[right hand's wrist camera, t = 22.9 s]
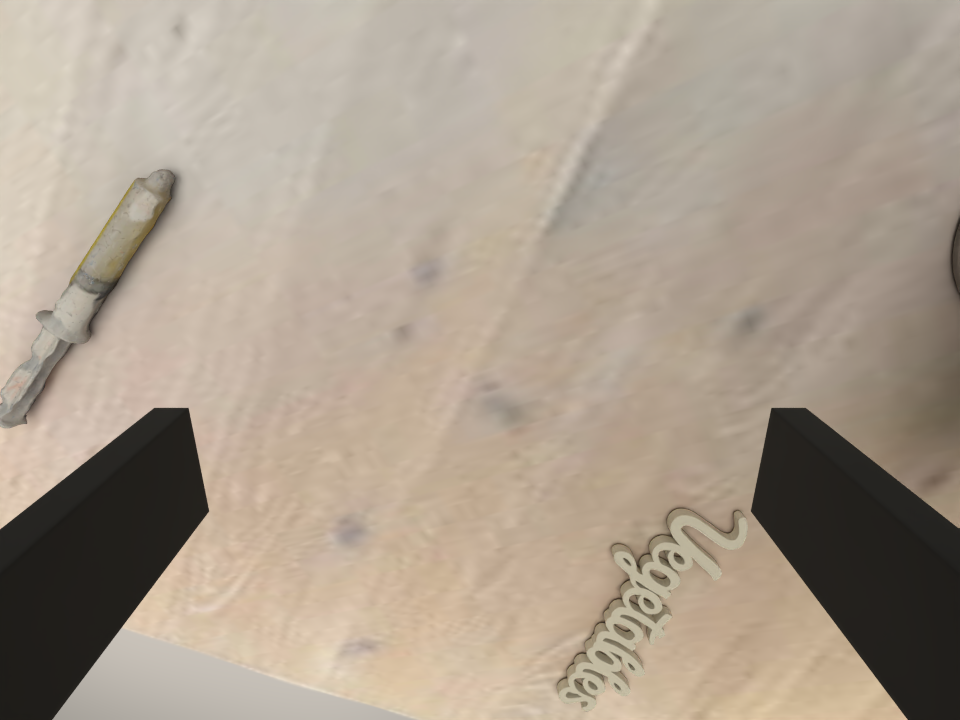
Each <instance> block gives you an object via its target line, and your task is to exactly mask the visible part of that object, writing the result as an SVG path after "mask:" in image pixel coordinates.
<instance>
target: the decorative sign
mask: <svg viewBox="0 0 960 720" xmlns="http://www.w3.org/2000/svg"><path fill="white" fill-rule="evenodd" d="M734 523H735V525H734V529H733V531H732V532H731V533H728V534H727V533H723V532H721V531H720V530H718V529H717V528H715V527H714V526H713V525H711V524H710V523H709V522H707V521H706V520H704V519H703V518H702V517H700V516H699V515H697V514H696V513H694V512H692V511H690V510H687V509H676V510H674V511H672V512H671V513H670V514H669V516H668V518H667V525H668V528H669V530H670V532H671V534H672V536H673V537H670V536H665V535H660V536H657V537H655V538H654V539H653V540H652V541H651V542H650V544H649V551H650V553H651V555H644V556H643V557H641V559H640V561H639V566H640V568H639V567H637V566H636V562H635V559H634V557H633V554H632V552H631V551H630V549H629V548H628V547H626V546H624V545H621V544H616V545H614V546H613V547H612V554H613V557H614V560H615V562H616V563H617V565H619V566H620V567H621V568H622V569H623V570H624V571H625V572H626V573H628V575H629V578H630V580H629V581H627V582H625V583H624V584H623V585H622V586H621V589H620V593H621V596H622V599H623V600H622V599H617V600H614V601H613V602H612V603H611V604H610V606H609V609H607V610H606V611H605V612H604V620H605V623H600V624H598V625H597V626H596V627H595V631H594V634H593V635H592V638H591V639H589V640H587V641H586V642H585V648H586V653H587V654H579V655H577V656H576V657H575V659H574V664H573V665H571V666H570V667H569V668H568V670H567V679H563V680H561V681H560V682H559V683H558V686H557V689H558V696H559V699H560V700H561V701H562V702H563V703H566V704H572V703H577V702H581V706H582V710H583V711H591V710H592V709H594V708H595V706H596V699H595V695H600V694H603V693H604V692H605V684H604V680H603V676H602V675H604V676H606V677H607V678H608V681H609V684H610V685H611V687H612V688H613V689H614V690H615V691H616V692H617V693H618V694H619V695H621V696H627V695H629V694H630V688H629V684H628V681H627V679H626V678H625V677H624V675H623V674H622V673H621V672H620V670H621V668H622V665H621V661H620V657H619V656H621V658H622V661H623V664H624V665H625V667H626V668H627V669H628V670H629V671H630V672H631V673H632V674H634V675H635V676H638V677H641V676H643V675H644V674H645V672H644V668H643V665H642V662H641V660H640V659H639V658H638V656H637V655H636V654H635V653H634V652H633V650H634V649H635V648H636V645H635V643H637V642H640V641H641V640H642V639H643V636H644V635H643V631H642V628H641V625H640V623H639V622H638V621H640V622H641V623H643V624H645V625H646V626H648V627H647V637H648V640H649V643H650V644H651V645H653V644H654V640H655V638H656V636H658V637H659V638H662V637H664V636H665V632H664V630H663V626H664V625H665V624H666V623H667V622H668V621H669V620H670V619H671V618H672V614H671V612H670V609H669V608H667V607H665V606H662V603H661V600H660V598H659V595H660V596H661V597H663V598H665V599H668V597H669V596H670V595H671V592H670V590H673V589H675V588H677V587H678V586H679V584H680V577H679V575H678V573H677V571H686V570H688V569H690V568H691V567H692V565H693V560H692V558H693V559H694V560H695V561H696V562H697V563H698V564H699V565H700V566H701V567H702V568H703V569H704V570H705V571H707V572H708V573H709V574H710V575H711V577H712V578H713V580H714V581H716V580H718V579H719V578H720V577H721V574H722V572H721V569H720V568H719V566H718V564H717V562H716V561H715V560H714V559H713V558H712V557H711V556H710V555H709V554H708V553H707V552H706V551H704V550H703V549H702V548H701V547H700V546H698V545H697V544H696V543H695V542H694V541H693V540H692V539H691V538H690V537H689V536H688V535H687V534H686V533H685V532H684V531H683V530H682V529H681V528H682V527H683V526H686V525H687V526H691V527H693V528H695V529H696V530H698V531H700V532H701V533H702V534H704V535H705V536H706V537H708V538H709V539H710V540H712V541H713V542H715V543H716V544H718V545H719V546H721V547H723V548H725V549H728V550H735V549H738V548H740V547H741V546H742V545H743V543H744V541H745V539H746V536H747V529H748V526H747V520H746V518H745V516H744V515H743V514H742V512H741V511H736V512H734ZM662 550H665V554H666V556H667V558H668V561H669V562H667V561H666V560H664V559H662V558H660V557H658V554H659V552H660V551H662ZM675 552H676V553H678V554H679V555H680V556H681V557H675V556H674V553H675ZM651 569H653V570H658V571H660V572H662V573H664V574H665V575H666V576H667V578H665V579H660V578H658V577H656V576H654V575H653V574H652V573H651V572H650V570H651ZM676 570H677V571H676ZM632 595H636V598H637V601H638V603H639V606H638V605H636V604H634V603H632V602H631V601H630V600H629V598H630V596H632ZM644 597H646V598H648V599H649V600H650V601H646V600H644ZM651 614H654V615H653V616H652V615H651ZM614 624H621V625H624V626H626V627H627V628H629V629H630V630H631V631H629V632H625V631H622V630H621V629H619V628H618V627H616V626H615V625H614ZM599 651H602V652H604V653H605V654H606V655H608V656H606V655H604V654H602V653H600V652H599ZM601 674H602V675H601ZM576 678H582V683H583V686H582V685H580V684H578V683H577V682H576V681H575V679H576Z"/></svg>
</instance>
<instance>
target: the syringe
mask: <svg viewBox="0 0 960 720" xmlns="http://www.w3.org/2000/svg"><path fill="white" fill-rule="evenodd" d="M174 181H175V176H174V174H173V173H172V172H171V171H169V170H163V169H161V170H158V171H155V172H153V173H152V174H151V175H150V176H149V178H137V179H136V180H134V182H133V183H132V185H131V186H130V188H129V189H128V191H127V192H126V194H125V195H124V197H123V199H122V200H121V201H120V203H119V205H118V206H117V208H116V209H115V211H114V212H113V214H112V216H111V217H110V219H109V220H108V222H107V224H106V225H105V226H104V228H103V230H102V231H101V233H100V234H99V236H98V238H97V239H96V241H95V242H94V244H93V245H92V247H91V248H90V250H89V251H88V253H87V254H86V256H85V257H84V259H83V261H82V262H81V264H80V265H79V267H78V268H77V270H76V271H75V273H74V274H73V276H72V277H71V280H70V283H69V286H68V287H67V289H66V290H65V291H64V292H63V294H62V296H61V298H60V299H59V300H58V301H57V302H56V304H55V309H54V311H47V310H43V311H40V312H38V313H37V314H36V318H37V320H38V321H39V322H40V323H41V324H42V325H43V328H42V330H41V333H40V334H39V336H38V337H37V338H36V340H35V341H34V342H33V345H32V347H31V351H32V358H31V359H30V360H29V361H27V362H25V363H23V364H22V365H20V366H19V367H18V368H17V369H16V370H15V371H14V373H13V374H12V375H11V377H10V378H9V380H8V381H7V383H6V385H5V386H4V388H3V389H2V390H1V392H0V396H1V397H2V400H3V403H1V404H0V427H2V428H11V427H14V426H17V425H20V424H27V420H26V416H27V415H25V414H26V413H27V412H28V411H29V409H30V407H31V406H32V404H33V403H34V402H35V398H36V396H37V395H38V394H40V393H41V392H42V391H43V389H44V387H45V381H46V379H47V377H48V376H49V374H50V372H51V370H52V369H53V367H54V366H55V365H56V363H57V362H58V361H59V360H60V359H61V358H62V357H63V356H64V355H65V353H66V352H67V350H68V349H69V347H70V346H71V344H72V343H75V344H82V343H86V342H87V341H88V340H89V339H90V337H91V332H90V330H89V324H90V322H91V320H92V319H93V317H94V316H95V315H96V314H97V312H98V310H99V308H100V307H101V305H102V304H103V302H104V301H105V299H106V297H107V295H108V294H109V293H110V292H111V291H112V290H113V288H114V287H115V286H116V284H117V282H118V280H119V278H120V276H121V274H122V272H123V271H124V269H125V267H126V265H127V264H128V262H129V260H130V259H131V258H132V256H133V255H134V253H135V252H136V250H137V249H138V247H139V245H140V244H141V242H142V241H143V240H144V238H145V237H146V235H147V234H148V233H149V232H150V231H151V230H152V228H153V227H154V225H155V223H156V221H157V219H158V217H159V215H160V214H161V212H162V211H163V209H164V207H165V205H166V204H167V203H168V202H169V201H170V200H171V198H172V197H171V196H170V189H171V187H172V185H173V183H174Z"/></svg>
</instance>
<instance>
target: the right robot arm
mask: <svg viewBox="0 0 960 720" xmlns="http://www.w3.org/2000/svg"><path fill="white" fill-rule="evenodd" d="M953 272H954V278H955V282H956V285H957V288H958V290H959V293H960V224H959V226H958V229H957V233H956V237H955V241H954V248H953ZM208 512H209V508H208V503H207V498H206V493H205V488H204V483H203V478H202V473H201V468H200V463H199V458H198V453H197V448H196V443H195V438H194V433H193V428H192V423H191V418H190V413H189V408H154V409H152V410H151V411H150V412H149V413H147V414H146V415H145V416H144V417H142V418H141V419H140V420H139V421H137V422H136V423H135V424H133V425H132V426H131V427H130V428H128V429H127V430H126V431H125V432H123V433H122V434H121V435H120V436H118V437H117V438H116V439H114V440H113V441H112V442H111V443H109V444H108V445H107V446H106V447H104V448H103V449H102V450H100V451H99V452H98V453H97V454H95V455H94V456H93V457H92V458H90V459H89V460H88V461H87V462H85V463H84V464H83V465H81V466H80V467H79V468H78V469H76V470H75V471H74V472H73V473H71V474H70V475H69V476H67V477H66V478H65V479H64V480H62V481H61V482H60V483H59V484H57V485H56V486H55V487H54V488H52V489H51V490H50V491H48V492H47V493H46V494H45V495H43V496H42V497H41V498H40V499H38V500H37V501H36V502H34V503H33V504H32V505H31V506H29V507H28V508H27V509H26V510H24V511H23V512H22V513H21V514H19V515H18V516H17V517H15V518H14V519H13V520H12V521H10V522H9V523H8V524H7V525H5V526H4V527H3V528H1V529H0V720H52V719H53V718H54V717H55V715H56V714H57V713H58V711H59V710H60V709H61V707H62V706H63V705H64V703H65V702H66V700H67V699H68V698H69V697H70V695H71V694H72V693H73V691H74V690H75V689H76V687H77V686H78V685H79V683H80V682H81V681H82V679H83V678H84V677H85V675H86V674H87V673H88V671H89V670H90V669H91V667H92V666H93V665H94V663H95V662H96V661H97V659H98V658H99V657H100V655H101V654H102V653H103V651H104V650H105V649H106V647H107V646H108V645H109V644H110V642H111V641H112V639H113V638H114V637H115V636H116V634H117V633H118V632H119V630H120V629H121V628H122V626H123V625H124V624H125V622H126V621H127V620H128V618H129V617H130V616H131V614H132V613H133V612H134V610H135V609H136V608H137V606H138V605H139V604H140V602H141V601H142V600H143V598H144V597H145V596H146V594H147V593H148V592H149V590H150V589H151V588H152V586H153V585H154V584H155V582H156V581H157V580H158V578H159V577H160V576H161V574H162V573H163V572H164V570H165V569H166V568H167V566H168V565H169V564H170V563H171V561H172V560H173V559H174V557H175V556H176V555H177V553H178V552H179V551H180V549H181V548H182V547H183V545H184V544H185V543H186V541H187V540H188V539H189V537H190V536H191V535H192V533H193V532H194V531H195V529H196V528H197V527H198V525H199V524H200V523H201V521H202V520H203V519H204V517H205V516H206V515H207V513H208ZM751 512H752V513H753V515H754V516H755V517H756V519H757V520H758V521H759V523H760V524H761V525H762V527H763V528H764V529H765V531H766V532H767V533H768V535H769V536H770V537H771V539H772V540H773V541H774V543H775V544H776V545H777V547H778V548H779V549H780V551H781V552H782V553H783V555H784V556H785V557H786V559H787V560H788V561H789V563H790V564H791V565H792V566H793V568H794V569H795V570H796V572H797V573H798V574H799V576H800V577H801V578H802V580H803V581H804V582H805V584H806V585H807V586H808V588H809V589H810V590H811V592H812V593H813V594H814V596H815V597H816V598H817V600H818V601H819V602H820V604H821V605H822V606H823V608H824V609H825V610H826V612H827V613H828V614H829V616H830V617H831V618H832V620H833V621H834V622H835V624H836V625H837V626H838V628H839V629H840V630H841V632H842V633H843V634H844V636H845V637H846V638H847V640H848V641H849V642H850V644H851V645H852V646H853V648H854V649H855V650H856V651H857V653H858V654H859V655H860V657H861V658H862V659H863V661H864V662H865V663H866V665H867V666H868V667H869V669H870V670H871V671H872V673H873V674H874V675H875V677H876V678H877V679H878V681H879V682H880V683H881V685H882V686H883V687H884V689H885V690H886V691H887V693H888V694H889V695H890V697H891V698H892V699H893V701H894V702H895V703H896V705H897V706H898V707H899V709H900V710H901V711H902V713H903V714H904V715H905V717H906V718H907V719H908V720H960V528H957V527H956V526H955V525H953V524H952V523H951V522H950V521H948V520H947V519H946V518H945V517H943V516H942V515H941V514H939V513H938V512H937V511H936V510H934V509H933V508H932V507H931V506H929V505H928V504H927V503H926V502H924V501H923V500H922V499H920V498H919V497H918V496H917V495H915V494H914V493H913V492H912V491H910V490H909V489H908V488H906V487H905V486H904V485H903V484H901V483H900V482H899V481H898V480H896V479H895V478H894V477H893V476H891V475H890V474H889V473H887V472H886V471H885V470H884V469H882V468H881V467H880V466H879V465H877V464H876V463H875V462H873V461H872V460H871V459H870V458H868V457H867V456H866V455H865V454H863V453H862V452H861V451H860V450H858V449H857V448H856V447H854V446H853V445H852V444H851V443H849V442H848V441H847V440H846V439H844V438H843V437H842V436H840V435H839V434H838V433H837V432H835V431H834V430H833V429H832V428H830V427H829V426H828V425H827V424H825V423H824V422H823V421H821V420H820V419H819V418H818V417H816V416H815V415H814V414H813V413H811V412H810V411H809V410H808V409H806V408H771V413H770V418H769V423H768V428H767V433H766V438H765V443H764V448H763V453H762V458H761V463H760V468H759V473H758V478H757V483H756V488H755V493H754V498H753V503H752V508H751Z"/></svg>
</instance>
